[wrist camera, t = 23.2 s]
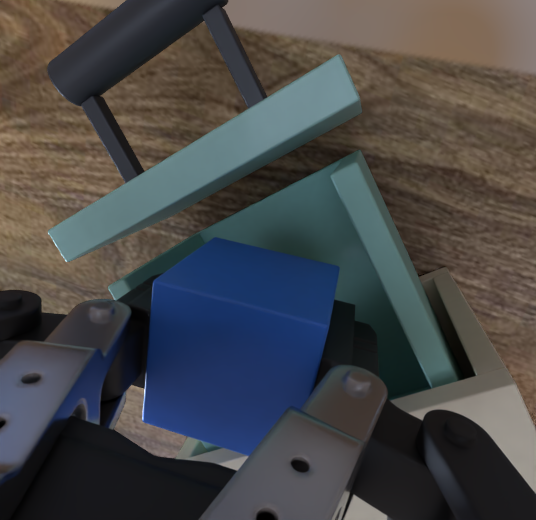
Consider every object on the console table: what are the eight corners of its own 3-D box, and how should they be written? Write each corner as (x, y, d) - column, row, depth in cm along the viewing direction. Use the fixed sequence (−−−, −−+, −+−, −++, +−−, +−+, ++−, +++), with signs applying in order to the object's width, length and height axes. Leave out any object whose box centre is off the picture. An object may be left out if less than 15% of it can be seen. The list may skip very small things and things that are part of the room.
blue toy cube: (340, 265, 12) (329, 326, 8) (313, 377, 13) (293, 472, 10) (214, 236, 13) (151, 279, 9) (200, 345, 14) (140, 422, 10)
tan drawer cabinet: (240, 344, 23) (161, 479, 14) (446, 265, 19) (516, 383, 10) (356, 550, 26) (352, 774, 17) (557, 517, 22) (690, 786, 13)
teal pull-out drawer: (109, 106, 20) (-41, 91, 12) (299, -28, 16) (246, -157, 9) (288, 426, 23) (253, 563, 16) (479, 371, 19) (546, 515, 12)
